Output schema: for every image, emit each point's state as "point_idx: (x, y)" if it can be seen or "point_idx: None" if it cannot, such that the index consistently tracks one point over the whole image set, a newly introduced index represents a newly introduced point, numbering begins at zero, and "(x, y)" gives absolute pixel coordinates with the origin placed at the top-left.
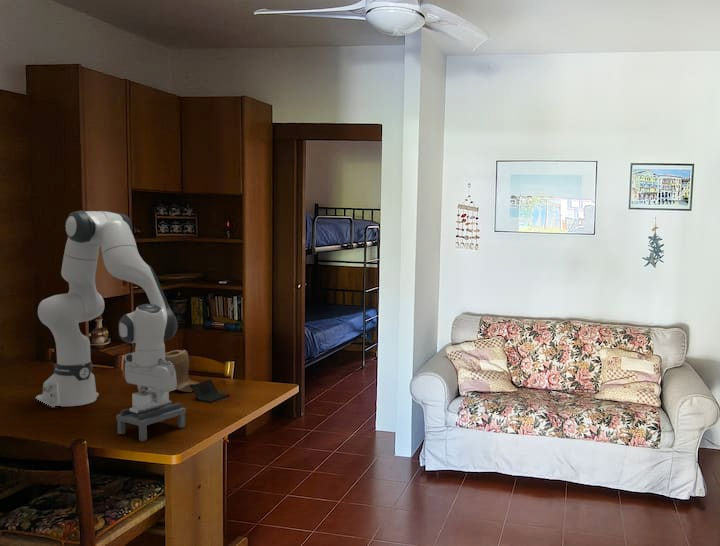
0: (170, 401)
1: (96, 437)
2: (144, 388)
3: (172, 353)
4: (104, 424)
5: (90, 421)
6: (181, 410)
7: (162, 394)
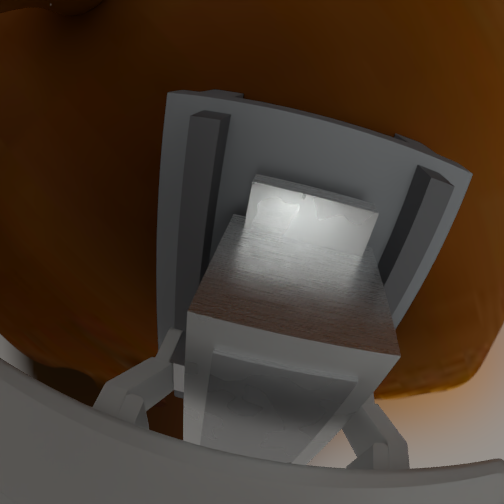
0: (372, 226)
1: None
2: (136, 389)
3: None
4: (64, 242)
5: (18, 233)
6: (454, 209)
7: (388, 430)
